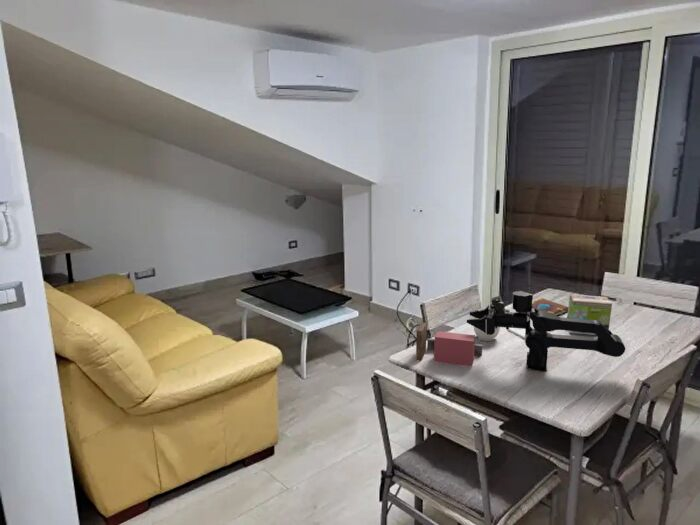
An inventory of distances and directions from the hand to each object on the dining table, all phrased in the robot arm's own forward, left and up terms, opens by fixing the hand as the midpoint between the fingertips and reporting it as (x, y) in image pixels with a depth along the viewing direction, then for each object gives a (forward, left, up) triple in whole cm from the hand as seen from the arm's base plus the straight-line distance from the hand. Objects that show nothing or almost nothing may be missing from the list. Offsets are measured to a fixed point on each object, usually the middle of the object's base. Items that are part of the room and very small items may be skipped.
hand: (468, 317), depth 192 cm
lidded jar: (-5, -22, -17) cm, 28 cm away
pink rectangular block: (+4, +4, -17) cm, 17 cm away
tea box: (-45, -43, -17) cm, 65 cm away
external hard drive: (-20, -32, -17) cm, 42 cm away
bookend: (+6, +1, -16) cm, 18 cm away
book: (-28, -65, -17) cm, 73 cm away
